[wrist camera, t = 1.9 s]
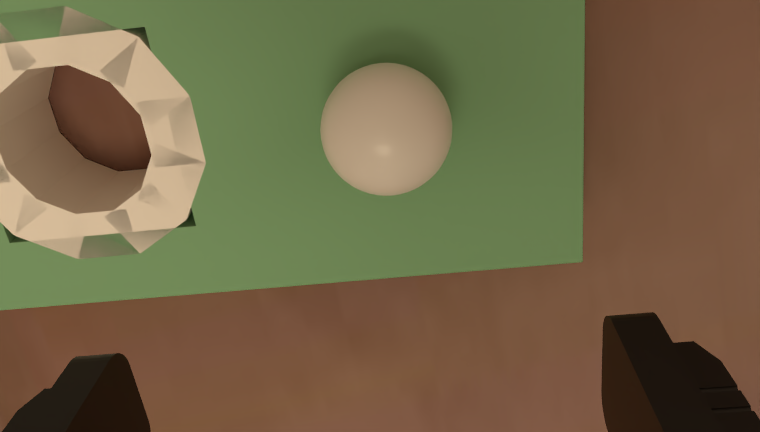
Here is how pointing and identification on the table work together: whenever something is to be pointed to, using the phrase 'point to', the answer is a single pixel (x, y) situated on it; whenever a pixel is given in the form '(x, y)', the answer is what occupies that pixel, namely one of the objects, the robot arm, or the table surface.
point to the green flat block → (283, 145)
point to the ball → (386, 129)
